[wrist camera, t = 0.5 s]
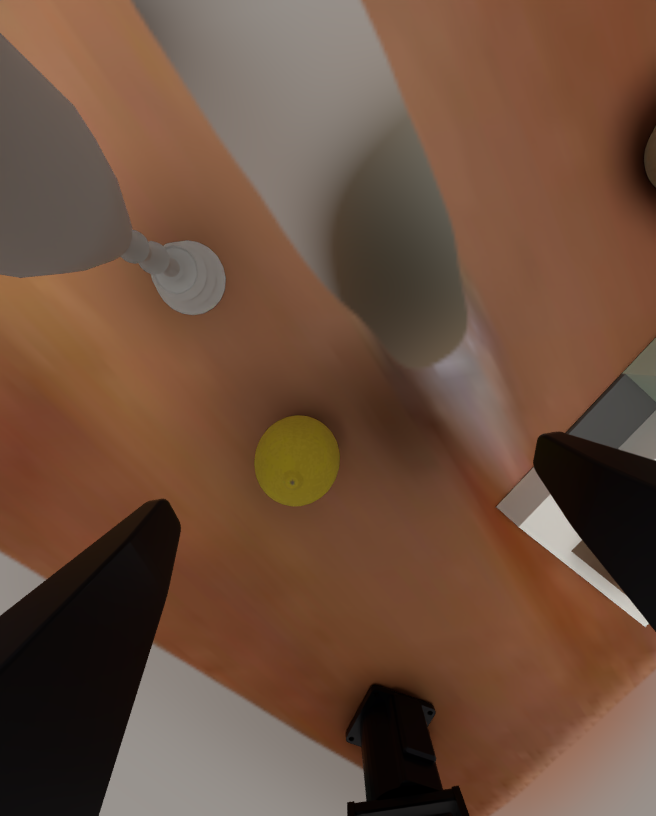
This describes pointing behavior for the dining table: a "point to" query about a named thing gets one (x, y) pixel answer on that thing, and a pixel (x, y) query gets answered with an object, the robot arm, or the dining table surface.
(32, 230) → the chalice
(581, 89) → the dining table surface
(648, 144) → the flower pot
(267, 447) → the lemon
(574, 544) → the board
